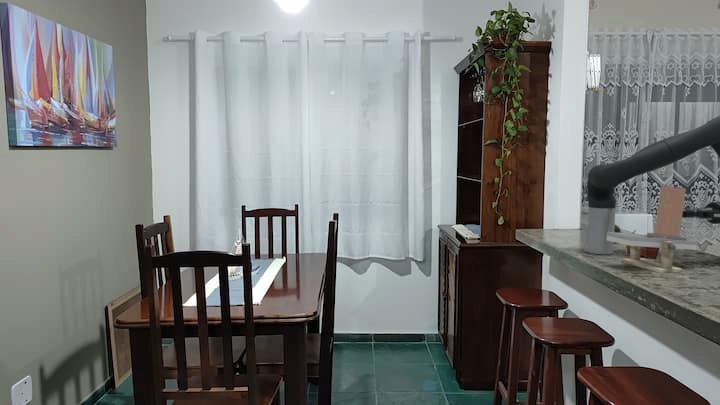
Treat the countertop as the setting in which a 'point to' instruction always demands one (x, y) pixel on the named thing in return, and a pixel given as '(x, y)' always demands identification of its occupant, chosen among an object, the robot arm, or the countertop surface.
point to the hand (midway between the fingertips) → (681, 214)
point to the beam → (648, 241)
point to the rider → (669, 214)
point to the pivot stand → (652, 265)
